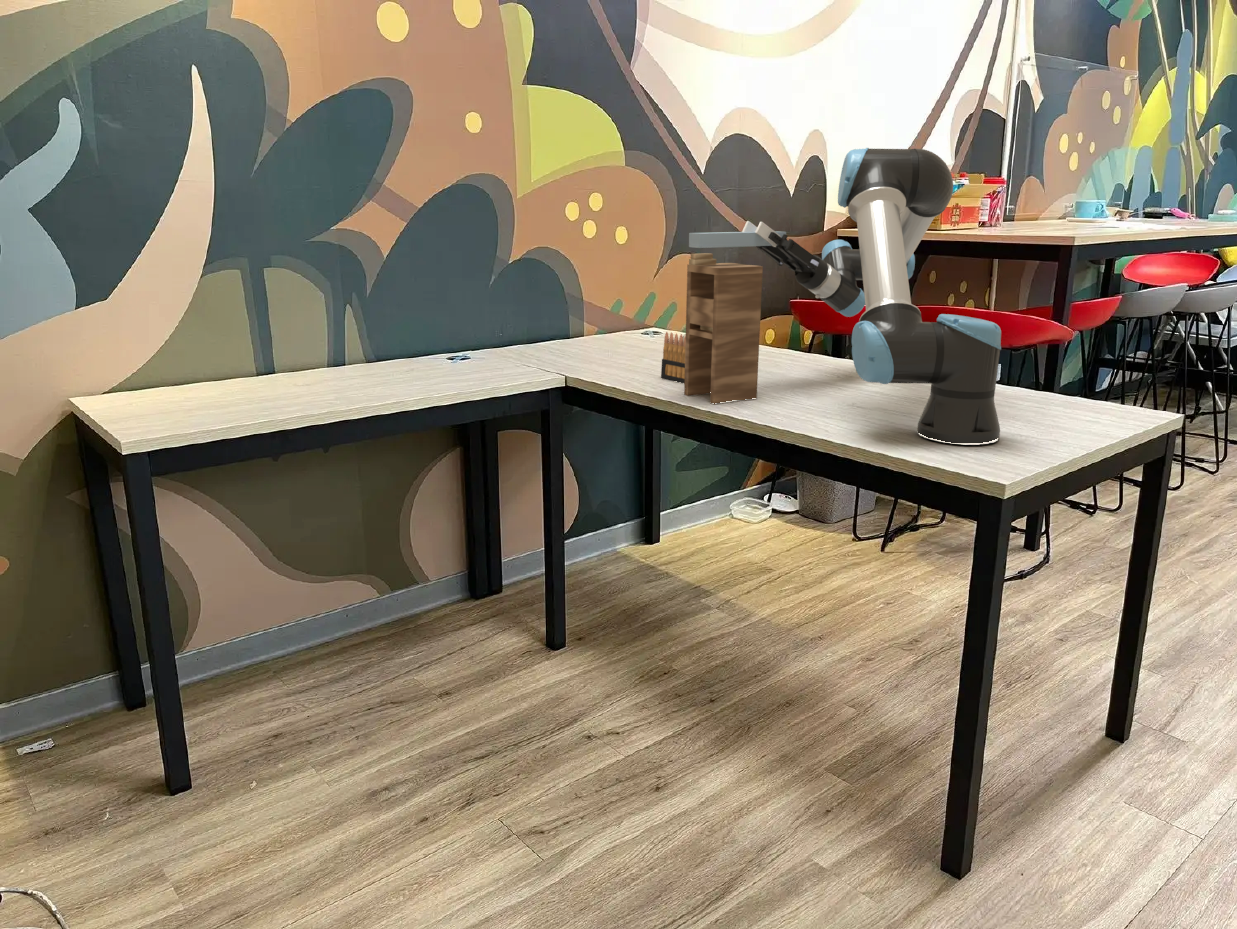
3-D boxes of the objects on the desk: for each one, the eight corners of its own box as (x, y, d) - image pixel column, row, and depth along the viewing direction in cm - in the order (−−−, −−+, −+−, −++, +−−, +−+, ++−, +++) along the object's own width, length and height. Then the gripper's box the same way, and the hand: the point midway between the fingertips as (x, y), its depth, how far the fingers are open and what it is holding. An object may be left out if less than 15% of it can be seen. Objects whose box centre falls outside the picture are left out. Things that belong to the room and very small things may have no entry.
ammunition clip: (695, 384, 231) (696, 335, 228) (689, 384, 230) (690, 336, 227) (666, 377, 239) (667, 330, 236) (660, 378, 238) (661, 331, 235)
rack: (756, 398, 215) (763, 255, 205) (714, 404, 209) (719, 256, 200) (725, 389, 225) (730, 252, 215) (684, 394, 219) (687, 253, 210)
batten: (785, 245, 213) (786, 231, 212) (699, 247, 201) (699, 233, 201) (774, 244, 216) (774, 231, 215) (688, 247, 205) (689, 232, 204)
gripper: (835, 293, 215) (768, 243, 202) (786, 287, 230) (722, 240, 217) (849, 264, 215) (783, 212, 202) (800, 259, 230) (736, 210, 217)
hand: (752, 226), depth 209 cm, fingers closed on batten, 4 cm apart
